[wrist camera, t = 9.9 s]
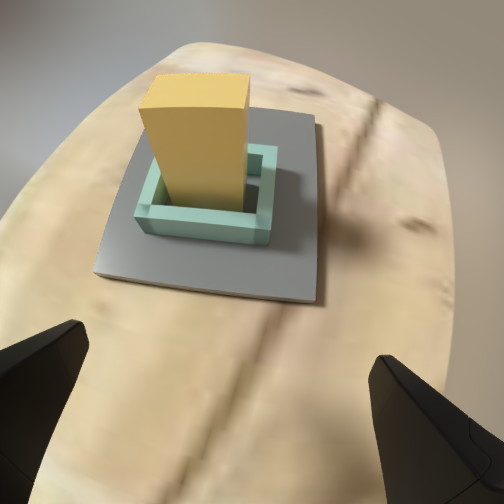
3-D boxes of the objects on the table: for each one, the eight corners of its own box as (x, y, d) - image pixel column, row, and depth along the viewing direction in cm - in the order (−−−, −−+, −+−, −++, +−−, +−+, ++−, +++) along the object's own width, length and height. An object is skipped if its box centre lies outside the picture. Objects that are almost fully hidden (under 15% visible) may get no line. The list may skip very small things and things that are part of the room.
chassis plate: (312, 303, 19) (325, 291, 16) (98, 275, 20) (76, 259, 16) (312, 122, 26) (319, 96, 23) (158, 111, 26) (151, 86, 23)
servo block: (242, 217, 21) (243, 108, 11) (175, 211, 21) (138, 108, 11) (246, 183, 22) (250, 74, 13) (183, 179, 22) (157, 75, 13)
